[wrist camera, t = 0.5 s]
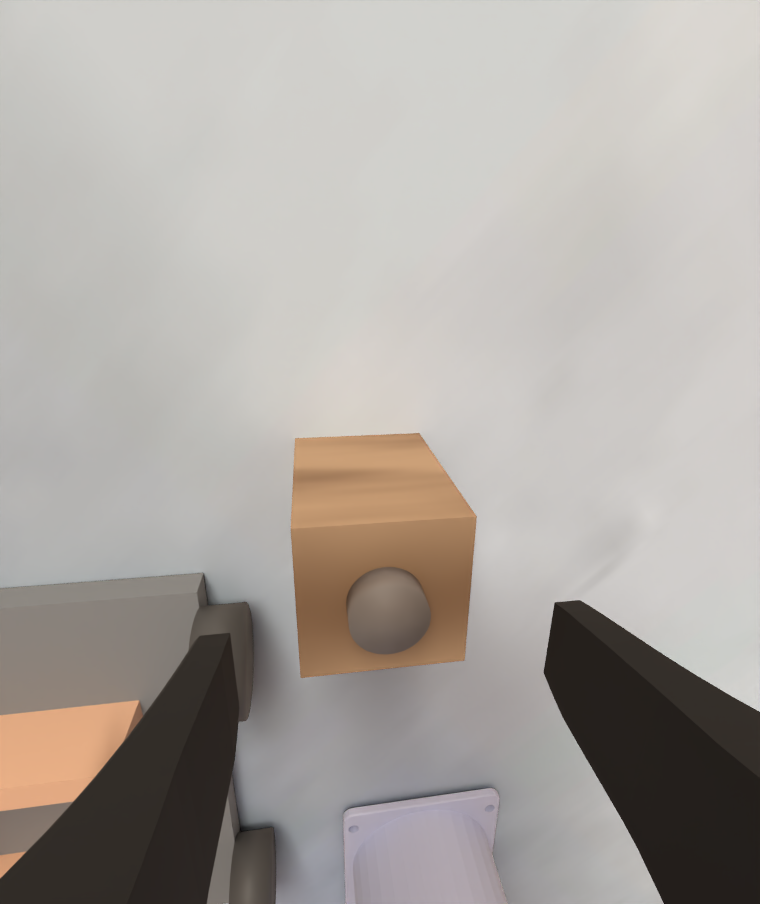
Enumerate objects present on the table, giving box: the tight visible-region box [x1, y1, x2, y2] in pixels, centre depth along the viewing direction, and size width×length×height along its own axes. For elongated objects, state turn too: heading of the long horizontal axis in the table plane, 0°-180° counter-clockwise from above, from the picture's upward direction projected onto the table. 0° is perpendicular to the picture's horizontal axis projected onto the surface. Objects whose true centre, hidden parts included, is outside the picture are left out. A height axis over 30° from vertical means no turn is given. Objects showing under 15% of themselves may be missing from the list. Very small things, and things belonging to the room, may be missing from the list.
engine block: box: [291, 433, 477, 678], centre depth 15 cm, size 4×4×7 cm
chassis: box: [0, 573, 276, 904], centre depth 19 cm, size 18×15×4 cm
